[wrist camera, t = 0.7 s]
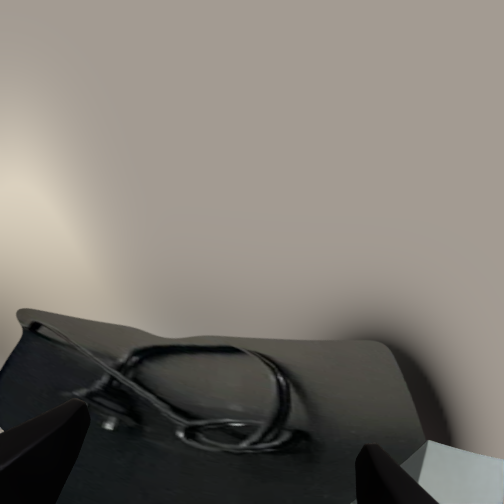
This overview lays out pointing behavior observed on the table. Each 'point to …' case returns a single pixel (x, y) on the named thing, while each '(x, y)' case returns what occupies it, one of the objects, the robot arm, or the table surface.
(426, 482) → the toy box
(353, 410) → the table surface
